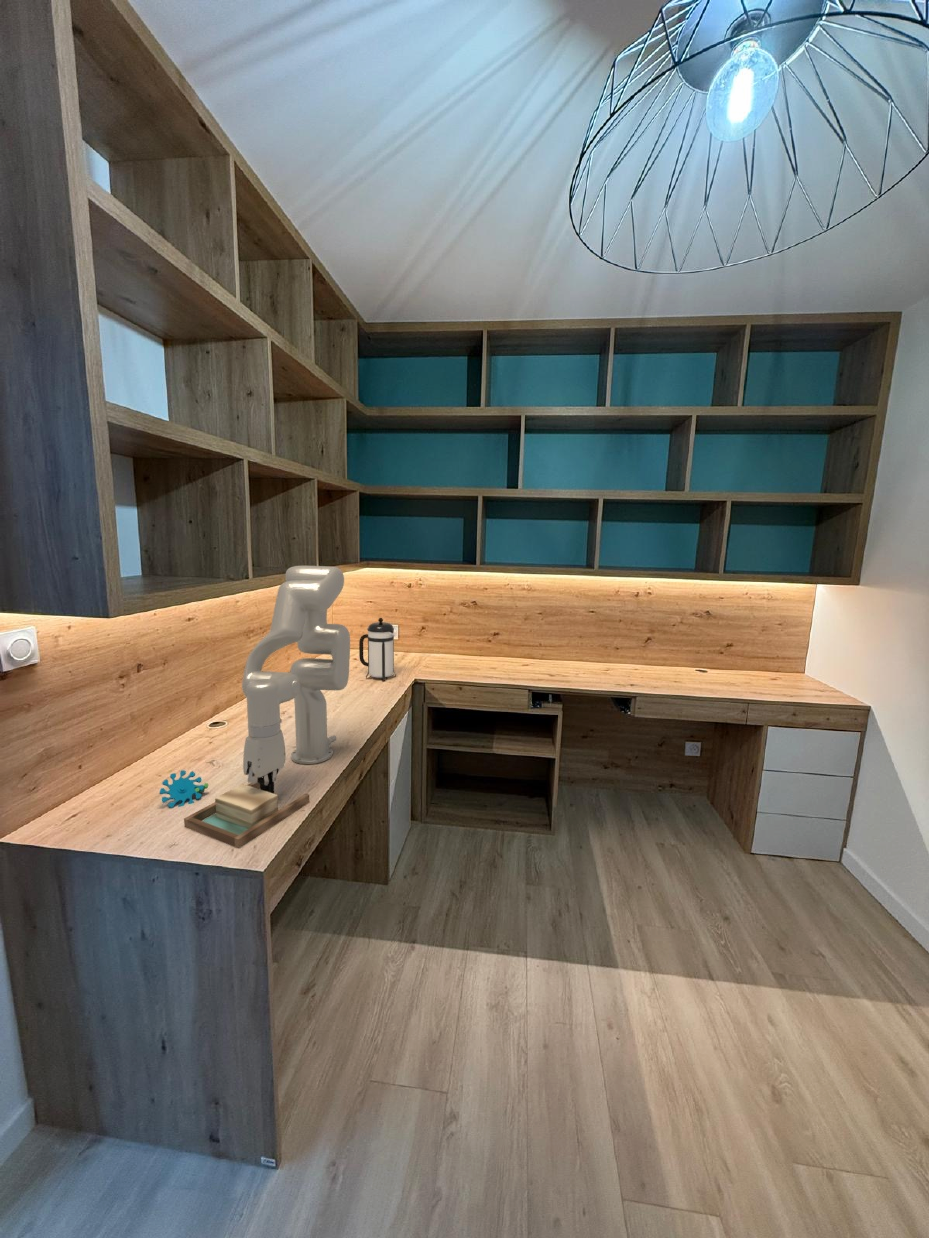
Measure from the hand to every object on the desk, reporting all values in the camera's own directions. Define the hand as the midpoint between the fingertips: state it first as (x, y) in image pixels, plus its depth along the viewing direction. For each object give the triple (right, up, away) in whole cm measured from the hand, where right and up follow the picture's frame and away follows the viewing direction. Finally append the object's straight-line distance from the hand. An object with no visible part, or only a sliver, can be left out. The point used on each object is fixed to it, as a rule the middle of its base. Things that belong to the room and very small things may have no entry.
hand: (267, 796), depth 129 cm
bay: (-3, -3, -4) cm, 6 cm away
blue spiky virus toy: (-22, -2, +2) cm, 22 cm away
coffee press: (+8, +16, +120) cm, 121 cm away
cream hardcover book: (-3, -3, -5) cm, 7 cm away
